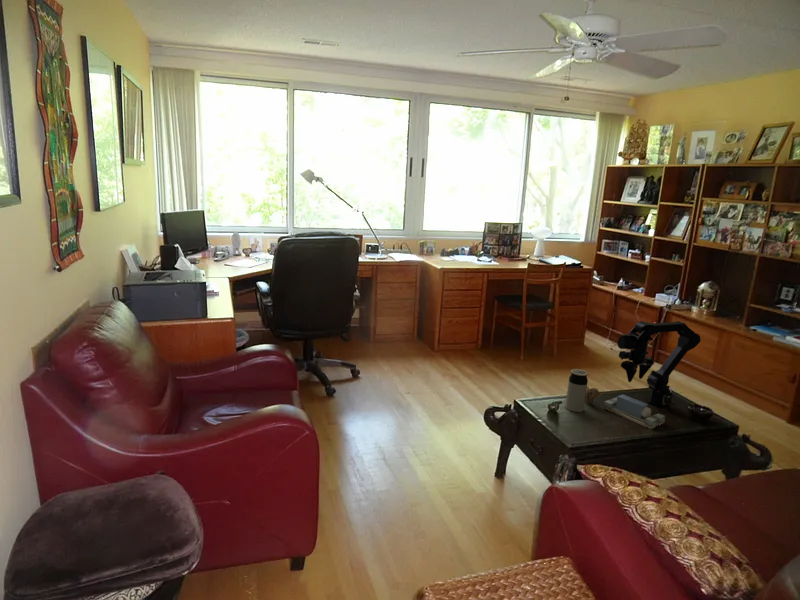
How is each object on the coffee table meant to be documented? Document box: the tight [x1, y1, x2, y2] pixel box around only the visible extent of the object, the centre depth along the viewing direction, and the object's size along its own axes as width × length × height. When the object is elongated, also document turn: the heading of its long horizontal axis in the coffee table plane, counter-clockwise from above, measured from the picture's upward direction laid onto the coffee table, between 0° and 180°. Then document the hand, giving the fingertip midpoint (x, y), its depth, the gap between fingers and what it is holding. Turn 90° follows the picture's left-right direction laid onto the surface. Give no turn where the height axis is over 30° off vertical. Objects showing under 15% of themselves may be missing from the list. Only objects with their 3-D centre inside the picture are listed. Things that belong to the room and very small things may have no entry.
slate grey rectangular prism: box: [616, 394, 652, 419], centre depth 228 cm, size 4×14×6 cm, turn 35°
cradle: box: [602, 396, 666, 430], centre depth 228 cm, size 11×23×4 cm, turn 35°
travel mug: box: [565, 368, 589, 413], centre depth 230 cm, size 8×8×18 cm
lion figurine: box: [585, 385, 602, 406], centre depth 240 cm, size 15×5×9 cm, turn 11°
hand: (634, 380), depth 239 cm, fingers open, 9 cm apart
